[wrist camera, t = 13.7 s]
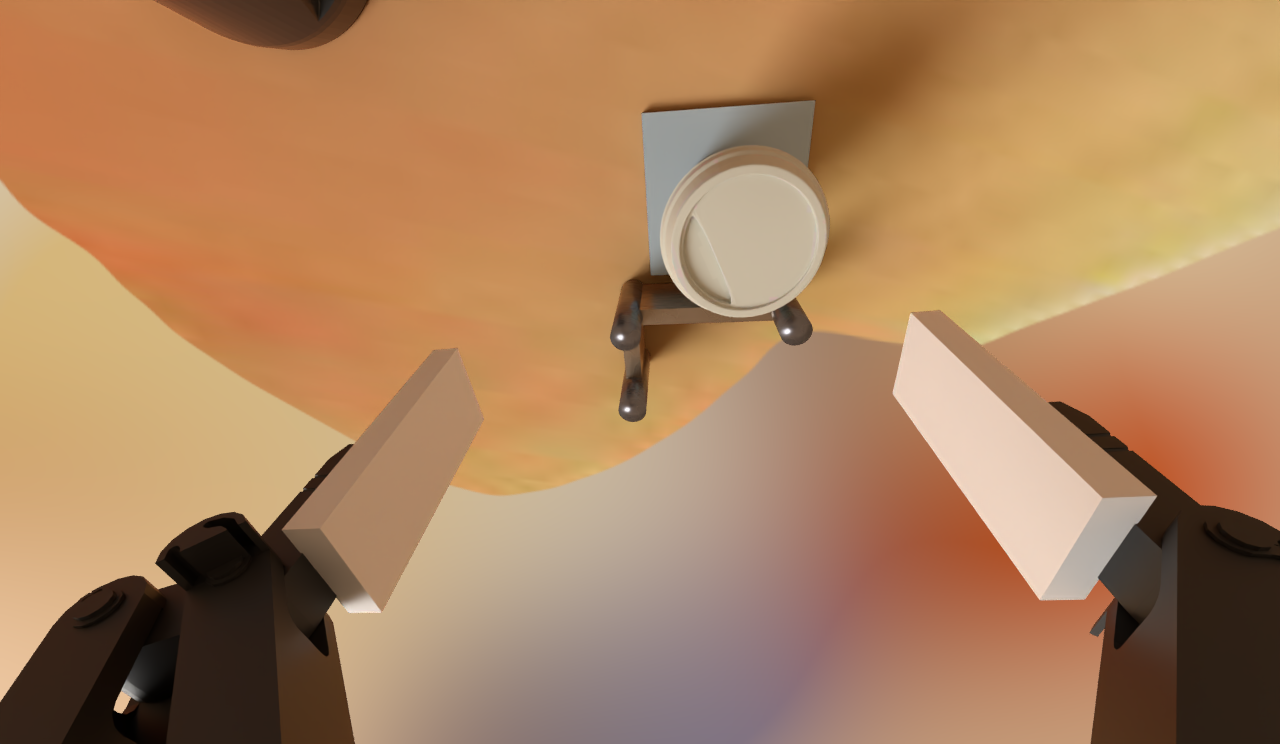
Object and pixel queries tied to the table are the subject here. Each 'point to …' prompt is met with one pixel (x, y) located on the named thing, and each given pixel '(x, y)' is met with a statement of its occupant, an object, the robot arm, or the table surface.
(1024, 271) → the table surface
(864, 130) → the table surface
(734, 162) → the coffee cup
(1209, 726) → the robot arm
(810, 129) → the coaster
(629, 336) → the rail
